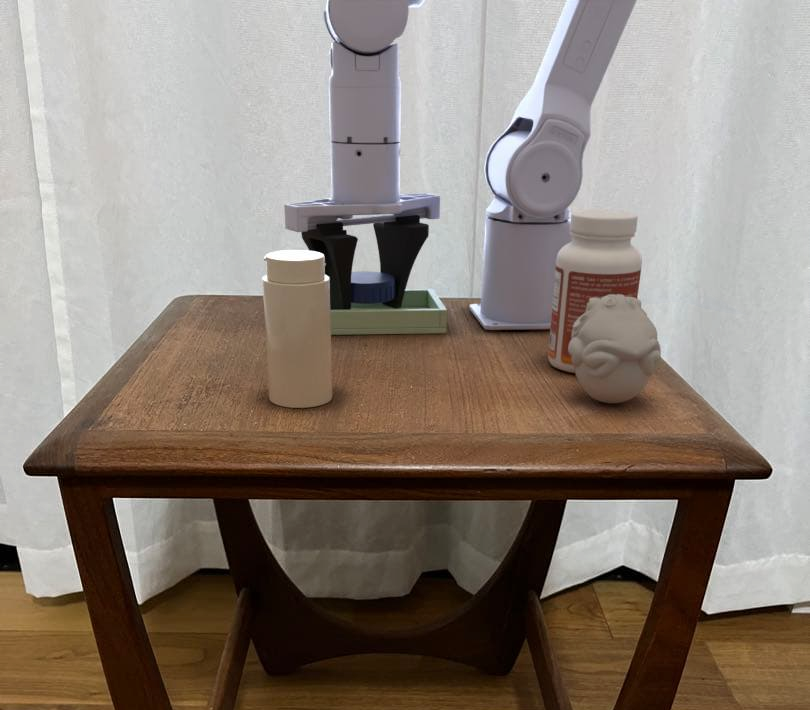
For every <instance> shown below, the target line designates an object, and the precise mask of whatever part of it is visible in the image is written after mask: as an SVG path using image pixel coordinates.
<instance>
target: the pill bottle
mask: <svg viewBox="0 0 810 710" xmlns="http://www.w3.org/2000/svg"><path fill="white" fill-rule="evenodd" d="M570 218H571V220H570V227H569V229H570V234H571V235H572V241H571V242H570V243H568V244H566V245H565V246H563V247H562V248H561V250H560V251H559V253H558V255H557V260H556V270H555V281H554V293H553V305H552V316H551V328H550V329H549V330H550V331H549V340H548V341H549V342H548V353H547V358H548V359H547V360H548V362H549V363H550V365H551V366H552V367H554V368H555V369H558V370H560V371H563V372H567V373H572V374H576V373H575V370H574V366H573V363H572V361H571V357H572V356H571V355H570V354H569V351H568V346H569V343H570V341H571V340H572V339H571V336H572V330H573V325H574V323H575V322H576V320H577V319H578V318H579V317H580V316H581V315H583V314H584V313H585V312H586V307H587V306H588V305H587V303H589V299H590V298H593V297H595V298H599V299H601V298H602V297H604V296H607V295H609V294H613V295H617V294H621V295H624V296H625V297H634V298H636V299H638V295H639V290H640V282H641V274H642V266H643V258H642V254H641V252H640V251H639V250H638V249H637V248H636V247H635V246H633V245H632V238H635V236H636V233H637V228H638V218H639V217H638V214H636V213H633V212H630V211H625V210H623V211H622V210H615V209H614V210H612V209H611V210H610V209H582V210H576V211H575V210H574V211H571V214H570Z"/></svg>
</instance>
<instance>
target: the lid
mask: <svg viewBox="0 0 810 710" xmlns="http://www.w3.org/2000/svg"><path fill="white" fill-rule="evenodd" d="M394 298H395V283H394V276H392V275H390V274H386V273H381V272H380V271H366V270H365V271H352V274H351V303H360V304H373V303H382V302H387V301H390V300H392V299H394Z"/></svg>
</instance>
